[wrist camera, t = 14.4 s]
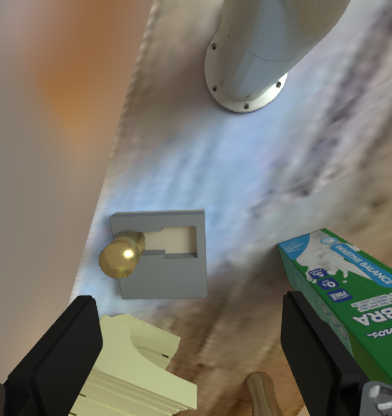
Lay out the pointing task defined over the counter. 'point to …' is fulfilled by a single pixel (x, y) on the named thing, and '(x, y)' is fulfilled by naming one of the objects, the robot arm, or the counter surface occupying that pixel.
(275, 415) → the beer glass
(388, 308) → the milk carton
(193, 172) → the counter surface
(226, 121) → the counter surface
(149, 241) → the board
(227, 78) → the robot arm
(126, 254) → the peg
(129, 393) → the slatted curved stool
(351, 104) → the counter surface
